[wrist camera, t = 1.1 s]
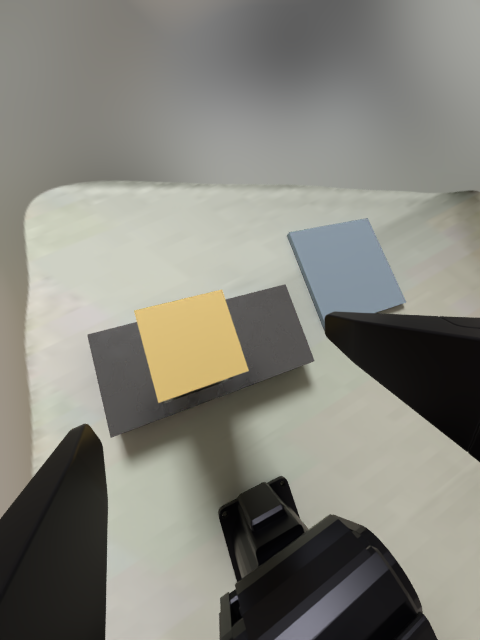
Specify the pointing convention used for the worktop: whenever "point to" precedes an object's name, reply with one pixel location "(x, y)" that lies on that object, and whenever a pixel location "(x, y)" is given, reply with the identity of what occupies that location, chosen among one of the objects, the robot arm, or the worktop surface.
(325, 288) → the slate mat
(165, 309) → the mustard block
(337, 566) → the robot arm
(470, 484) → the worktop surface
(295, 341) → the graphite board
